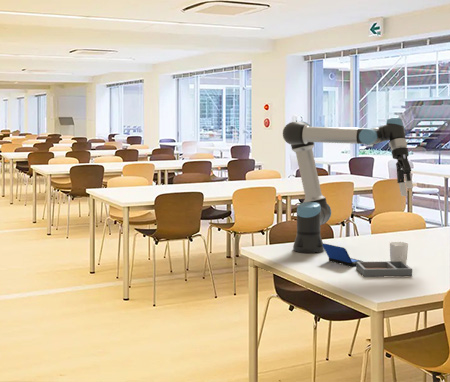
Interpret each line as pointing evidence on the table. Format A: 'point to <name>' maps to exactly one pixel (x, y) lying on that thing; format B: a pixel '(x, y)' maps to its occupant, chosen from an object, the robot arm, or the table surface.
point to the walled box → (383, 268)
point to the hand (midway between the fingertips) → (406, 192)
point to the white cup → (398, 251)
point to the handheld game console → (339, 255)
